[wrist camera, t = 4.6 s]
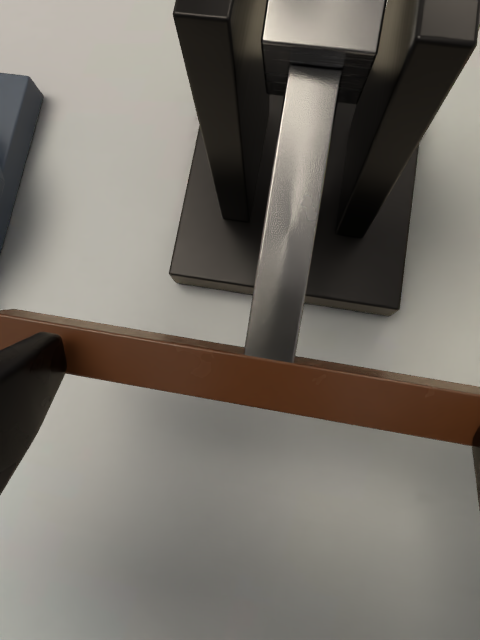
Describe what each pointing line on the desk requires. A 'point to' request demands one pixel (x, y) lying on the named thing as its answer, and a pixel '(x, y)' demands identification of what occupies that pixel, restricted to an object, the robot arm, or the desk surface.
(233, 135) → the lever bracket
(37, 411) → the robot arm
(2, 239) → the button box
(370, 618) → the desk surface
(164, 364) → the lever
